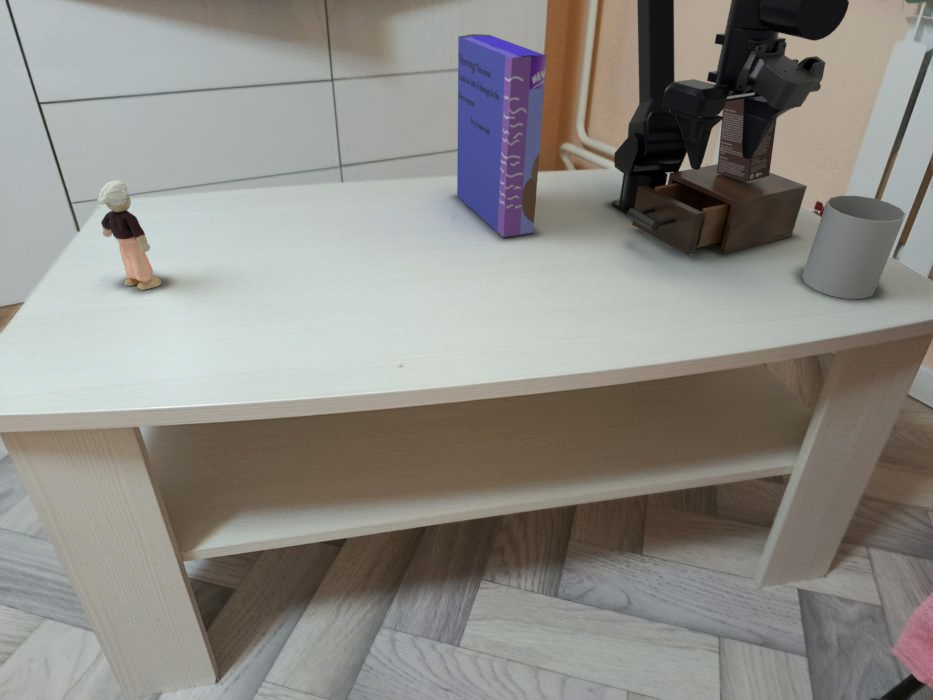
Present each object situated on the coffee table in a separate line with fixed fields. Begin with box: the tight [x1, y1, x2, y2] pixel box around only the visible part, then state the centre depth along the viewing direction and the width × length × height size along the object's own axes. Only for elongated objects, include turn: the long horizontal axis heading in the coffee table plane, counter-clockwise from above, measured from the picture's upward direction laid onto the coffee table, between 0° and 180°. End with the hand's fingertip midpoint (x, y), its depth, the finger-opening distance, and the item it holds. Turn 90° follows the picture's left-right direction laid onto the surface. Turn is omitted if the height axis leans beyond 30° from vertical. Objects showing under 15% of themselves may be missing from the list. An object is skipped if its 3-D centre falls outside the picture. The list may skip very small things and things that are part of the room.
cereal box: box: [456, 33, 547, 240], centre depth 95 cm, size 17×5×24 cm, turn 23°
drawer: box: [626, 182, 731, 256], centre depth 92 cm, size 17×11×6 cm
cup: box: [801, 195, 906, 300], centre depth 81 cm, size 8×8×10 cm
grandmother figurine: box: [97, 179, 162, 291], centre depth 78 cm, size 8×4×13 cm, turn 71°
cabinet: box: [667, 163, 808, 255], centre depth 96 cm, size 14×13×8 cm
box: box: [717, 91, 778, 183], centre depth 91 cm, size 6×4×12 cm
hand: (721, 163), depth 83 cm, fingers open, 9 cm apart
